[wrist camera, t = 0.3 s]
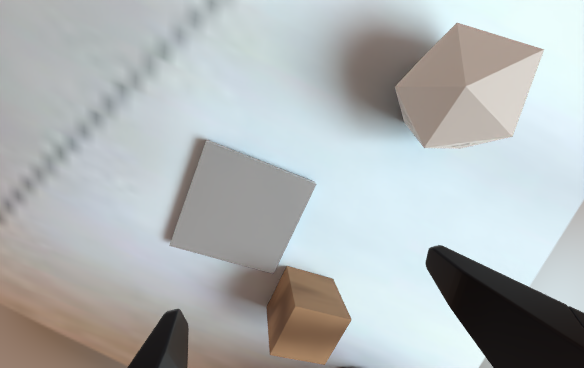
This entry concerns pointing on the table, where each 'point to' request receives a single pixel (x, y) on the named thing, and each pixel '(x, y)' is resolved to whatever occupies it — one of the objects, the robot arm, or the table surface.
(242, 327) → the table surface
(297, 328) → the walnut cube
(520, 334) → the robot arm
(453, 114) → the die
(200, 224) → the coaster
